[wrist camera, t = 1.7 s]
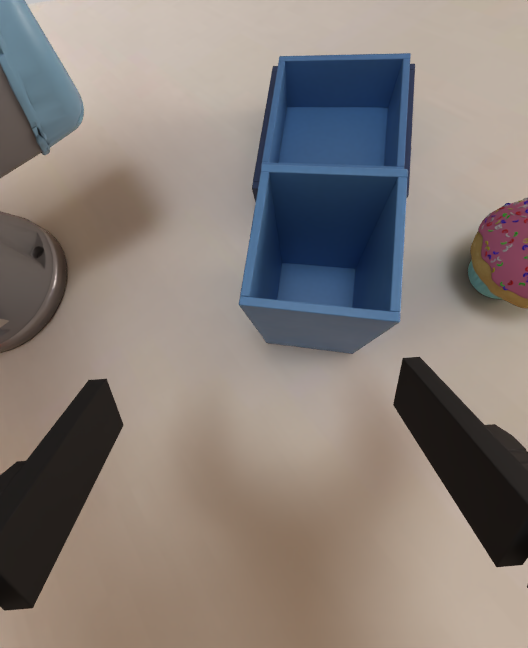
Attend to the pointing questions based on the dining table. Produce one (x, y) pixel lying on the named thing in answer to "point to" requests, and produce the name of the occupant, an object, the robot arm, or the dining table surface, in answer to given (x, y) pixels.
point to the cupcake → (502, 255)
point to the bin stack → (339, 113)
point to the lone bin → (325, 255)
